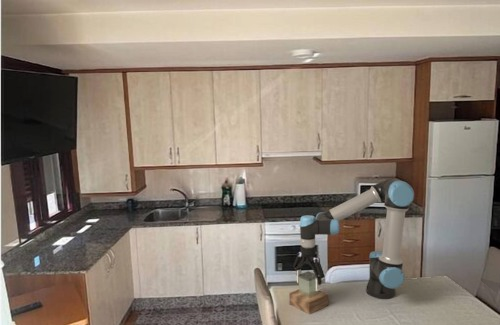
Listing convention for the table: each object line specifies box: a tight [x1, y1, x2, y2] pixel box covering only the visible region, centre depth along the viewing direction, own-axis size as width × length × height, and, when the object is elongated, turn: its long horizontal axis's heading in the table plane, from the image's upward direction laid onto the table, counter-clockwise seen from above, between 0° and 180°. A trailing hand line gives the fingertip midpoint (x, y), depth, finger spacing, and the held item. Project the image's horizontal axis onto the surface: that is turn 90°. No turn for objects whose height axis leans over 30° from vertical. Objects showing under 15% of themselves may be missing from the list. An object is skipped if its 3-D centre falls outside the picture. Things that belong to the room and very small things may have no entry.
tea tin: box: [298, 270, 318, 298], centre depth 193 cm, size 7×7×10 cm
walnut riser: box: [289, 288, 329, 315], centre depth 194 cm, size 14×14×6 cm
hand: (308, 286), depth 193 cm, fingers open, 13 cm apart
